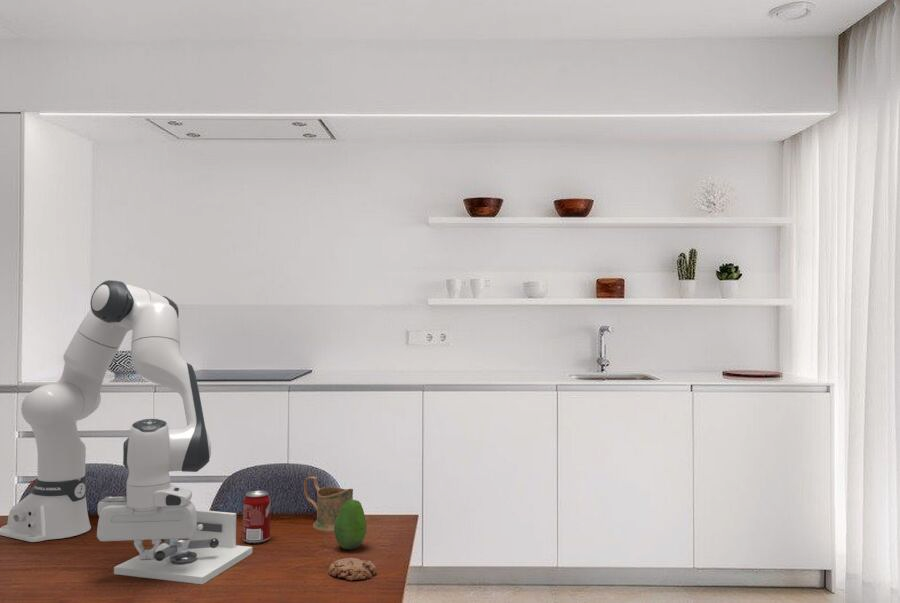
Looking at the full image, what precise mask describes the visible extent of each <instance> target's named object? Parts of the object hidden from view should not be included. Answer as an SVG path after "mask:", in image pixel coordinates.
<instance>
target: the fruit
mask: <svg viewBox="0 0 900 603" xmlns="http://www.w3.org/2000/svg"><path fill="white" fill-rule="evenodd" d="M333 533H334V536H335V539H336V540H335V541H336V543H337V544H338V545H339V546H340V547H341V548H342V549H344V550H348V551H349V550H354V549H357V548H358V547H360V546H361V544H363V542H364V540H365V537H366V533H367V520H366V516H365V511H364V508H363V505H362V503H361V502H360V500H356V499H353V500H348V501H347V502H345V503H344V504H343V506H342V508H341V510H340V512H339V514H338V516H337V518H336V521H335V524H334V532H333Z"/></svg>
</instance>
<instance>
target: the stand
mask: <svg viewBox="0 0 900 603" xmlns="http://www.w3.org/2000/svg"><path fill="white" fill-rule="evenodd" d="M196 516H197V531H196V533H195V534H194V536H193V537H192V538H191V540H190V541H195V540H210V539H213V538H216V539H218V541H219V545H218V546H217V547H216V548H211V547H210V548H196V549H190V552H195V553H196V554H197V559H196V560H195V561H192V562H189V563H173V562H171V561H170V556H168V557H166V558H164V559H163V560H162V561H157V560H156V559H154V560H139V554H138V555H136V556H134V557H132V558H129V559H128V560H126V561H124V562H122V563H119V564H117V565H116V566H114V567H113V575H119V576H120V575H121V576H129V577H137V578H144V579H146V578H147V579H153V580H161V581H162V580H163V581H171V582H179V583H188V584H196V585H204V584H205V583H207V582H209V581H211V580H212V579H213V578H216V577H217V576H218V575H220V574H221V573H223V572H225V571H227V570H228V569H229V568H231V567H233V566H235V565H236V564H237V563H239V562H241V561H243V559H244V560H245V558H247V557H249V556H250V555H252V554H253V550H254V549H253V546H246V545H245V546H244V545H238V544H237V512H226V511H215V510H202V509H196ZM169 546H170V545H168V544H166V543H163V542H162V543H161V544H159V545H158V547H157V549H156V550H155V553H156V552H157V551H160V550H163V549H165V548H167V547H169ZM149 550H152V548H151V549H149Z"/></svg>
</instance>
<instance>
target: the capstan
mask: <svg viewBox="0 0 900 603" xmlns="http://www.w3.org/2000/svg"><path fill="white" fill-rule="evenodd" d="M190 540H191V538H182V539H161V542H162V544H163V543H166V544H168V545H170V546H169V547H167V548H165V549H163V550H160V551H157V552H156V553H155V559H156V560H157V561H162V560H163V559H164V558H166V557H168V556H170V561H171V562H173V563H189V562H192V561H195V560H196V559H197V554H196V553H195V552H190V549H196V548H210V547H211V548H216V547H217V546H218V545H219V541H218V539H216V538H213V539H210V540H195V541H190Z"/></svg>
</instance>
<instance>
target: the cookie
mask: <svg viewBox="0 0 900 603" xmlns="http://www.w3.org/2000/svg"><path fill="white" fill-rule="evenodd" d="M376 571H377V566H376V565H375V564H374V563H373V562H372V561H371V560H370V559H369V560H365V559H361V560H360V558H356V557H355V558H354V557H348V558H347V557H346V558H341V559H337V560H335V561H334V562H332V563H331V564H330V566H329V568H328V575H329V576H333V577H334V578H338V579H339V578H345V580H347V581H355V580H365V579H366V580H367V579H372V577H373V576H375V574H376V573H377V572H376Z"/></svg>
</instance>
